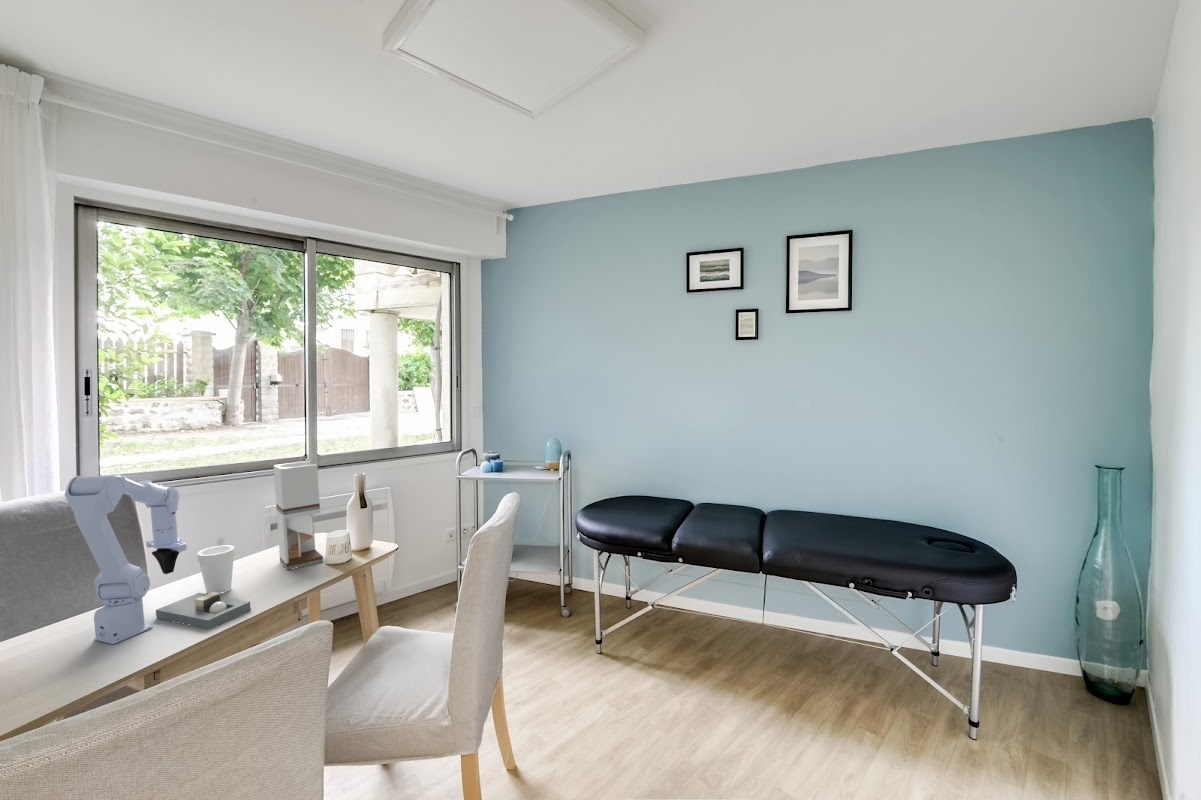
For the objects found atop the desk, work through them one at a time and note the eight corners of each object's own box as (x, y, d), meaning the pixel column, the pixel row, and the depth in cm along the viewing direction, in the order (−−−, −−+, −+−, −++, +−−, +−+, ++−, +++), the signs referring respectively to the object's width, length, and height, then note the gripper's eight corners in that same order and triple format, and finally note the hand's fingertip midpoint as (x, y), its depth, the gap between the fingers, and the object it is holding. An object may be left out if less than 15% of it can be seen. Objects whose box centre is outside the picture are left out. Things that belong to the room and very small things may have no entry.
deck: (208, 629, 149) (208, 620, 149) (156, 618, 157) (155, 609, 156) (250, 610, 161) (250, 601, 160) (199, 600, 168) (199, 592, 168)
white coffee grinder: (287, 570, 191) (280, 469, 188) (280, 562, 199) (273, 465, 196) (323, 561, 199) (317, 464, 196) (314, 554, 207) (309, 460, 204)
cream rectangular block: (204, 611, 155) (203, 600, 154) (195, 609, 156) (194, 599, 156) (221, 603, 159) (221, 593, 159) (213, 602, 161) (212, 591, 160)
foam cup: (244, 585, 179) (241, 545, 178) (221, 597, 170) (218, 555, 169) (216, 584, 180) (213, 545, 179) (193, 596, 171) (189, 555, 170)
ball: (204, 605, 155) (207, 619, 155) (214, 604, 154) (217, 619, 154) (218, 599, 159) (221, 613, 159) (228, 598, 158) (231, 612, 158)
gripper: (195, 525, 166) (199, 570, 167) (162, 521, 171) (166, 565, 172) (170, 532, 159) (174, 579, 160) (136, 528, 164) (140, 573, 165)
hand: (168, 572), depth 166 cm, fingers closed
